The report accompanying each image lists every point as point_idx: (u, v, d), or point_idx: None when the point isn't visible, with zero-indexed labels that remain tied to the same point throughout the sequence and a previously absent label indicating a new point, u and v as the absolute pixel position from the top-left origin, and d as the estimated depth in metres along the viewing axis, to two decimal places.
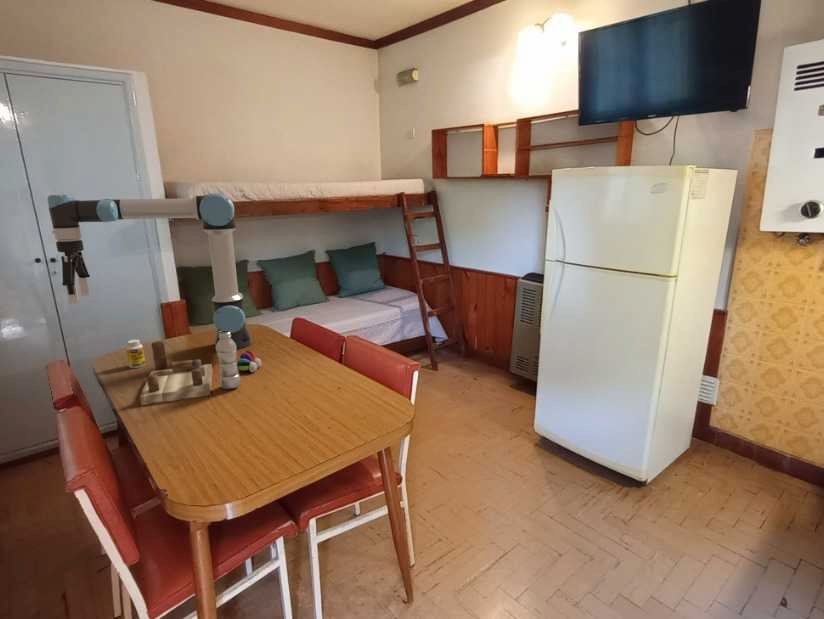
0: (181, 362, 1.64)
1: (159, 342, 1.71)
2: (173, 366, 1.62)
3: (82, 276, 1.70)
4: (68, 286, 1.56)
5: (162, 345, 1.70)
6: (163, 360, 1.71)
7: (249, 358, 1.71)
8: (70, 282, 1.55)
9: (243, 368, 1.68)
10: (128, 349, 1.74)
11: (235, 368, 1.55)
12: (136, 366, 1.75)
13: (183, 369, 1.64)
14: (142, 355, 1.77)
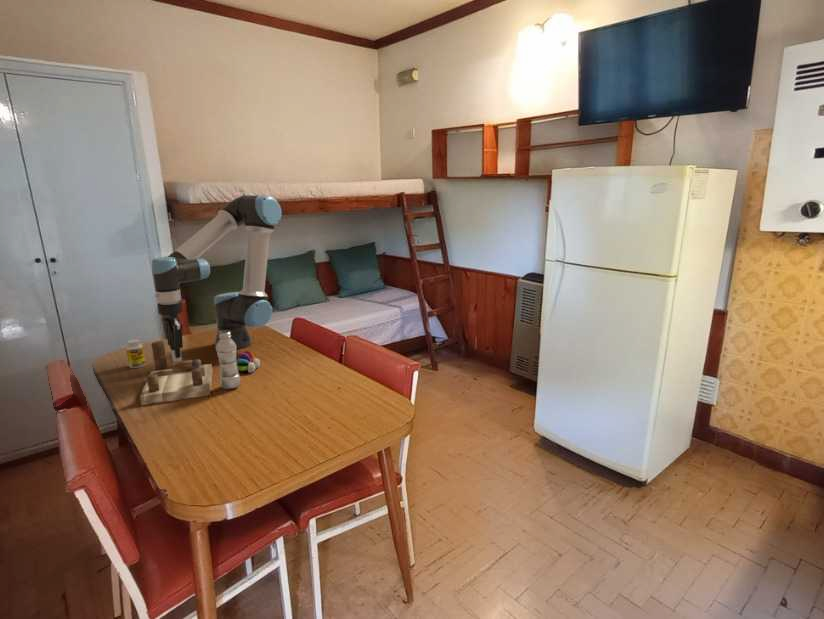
0: (181, 362, 1.64)
1: (159, 342, 1.71)
2: (173, 366, 1.62)
3: None
4: (176, 350, 1.63)
5: (162, 345, 1.70)
6: (163, 360, 1.71)
7: (248, 358, 1.71)
8: (181, 347, 1.62)
9: (241, 368, 1.68)
10: (128, 349, 1.74)
11: (235, 368, 1.55)
12: (136, 366, 1.75)
13: (183, 369, 1.64)
14: (142, 355, 1.77)
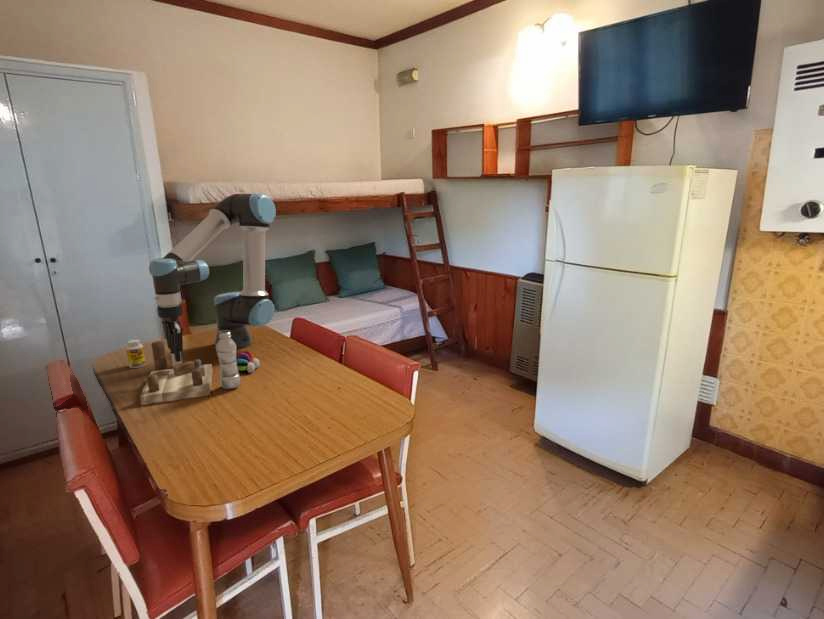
0: (183, 364, 1.62)
1: (159, 342, 1.71)
2: (178, 369, 1.59)
3: None
4: (176, 353, 1.60)
5: (162, 345, 1.70)
6: (163, 360, 1.71)
7: (247, 358, 1.71)
8: (181, 350, 1.59)
9: (241, 368, 1.68)
10: (128, 349, 1.74)
11: (235, 368, 1.55)
12: (136, 366, 1.75)
13: (187, 371, 1.62)
14: (142, 355, 1.77)
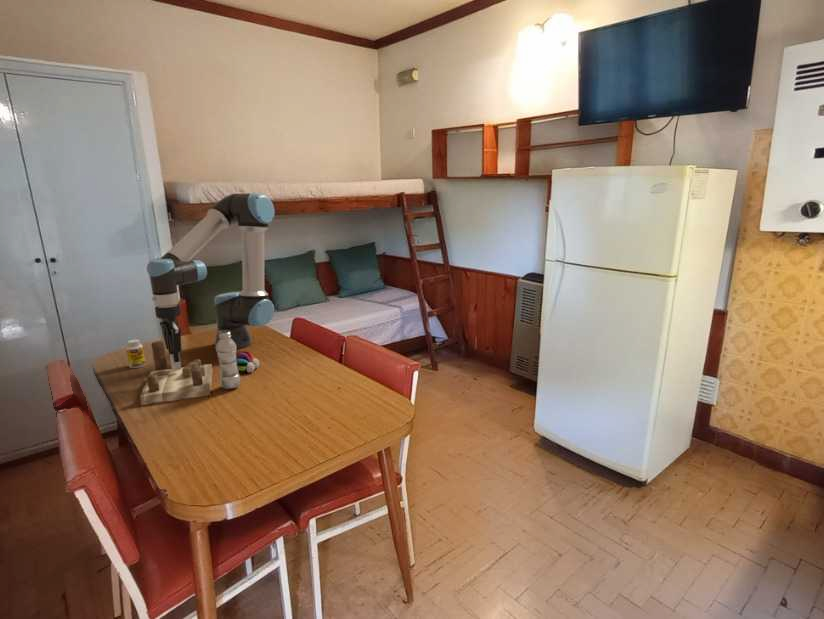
0: (190, 365, 1.61)
1: (159, 342, 1.71)
2: (189, 370, 1.59)
3: None
4: (175, 354, 1.59)
5: (162, 345, 1.70)
6: (163, 360, 1.71)
7: (247, 358, 1.71)
8: (180, 351, 1.58)
9: (240, 368, 1.68)
10: (128, 349, 1.74)
11: (235, 368, 1.55)
12: (136, 366, 1.75)
13: None
14: (142, 355, 1.77)
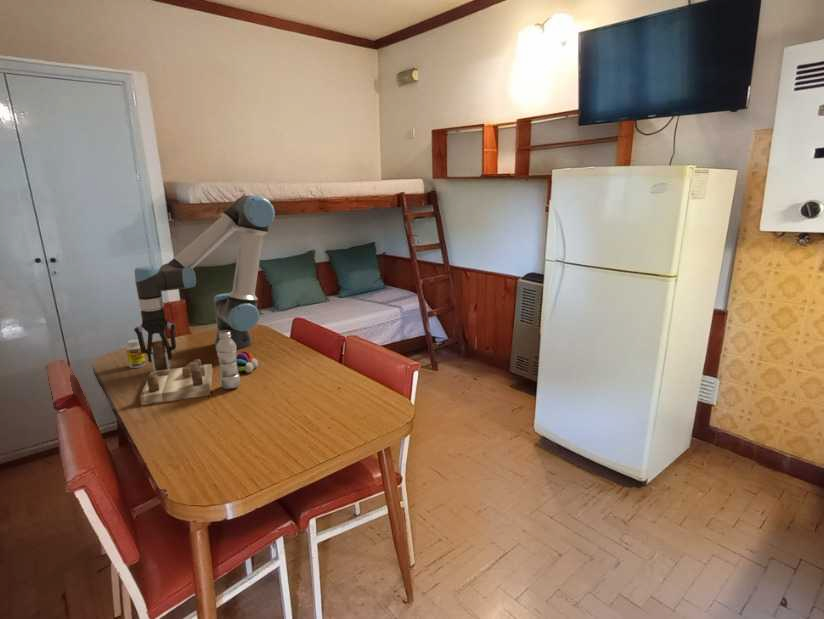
0: (190, 365, 1.61)
1: (159, 341, 1.71)
2: (189, 370, 1.59)
3: None
4: None
5: (162, 344, 1.70)
6: (163, 359, 1.71)
7: (245, 359, 1.70)
8: None
9: (239, 369, 1.68)
10: (128, 349, 1.74)
11: (235, 368, 1.55)
12: (136, 366, 1.75)
13: None
14: (142, 355, 1.77)
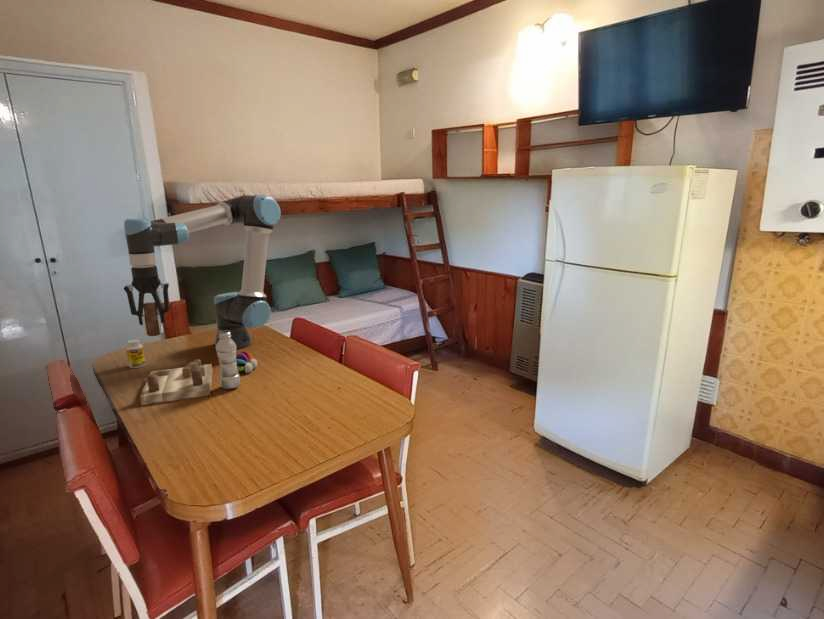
0: (190, 365, 1.61)
1: (151, 303, 1.57)
2: (189, 370, 1.59)
3: None
4: None
5: (155, 306, 1.56)
6: (156, 322, 1.57)
7: (245, 359, 1.70)
8: (131, 313, 1.54)
9: (238, 369, 1.68)
10: (128, 349, 1.74)
11: (235, 368, 1.55)
12: (136, 366, 1.75)
13: None
14: (142, 355, 1.77)
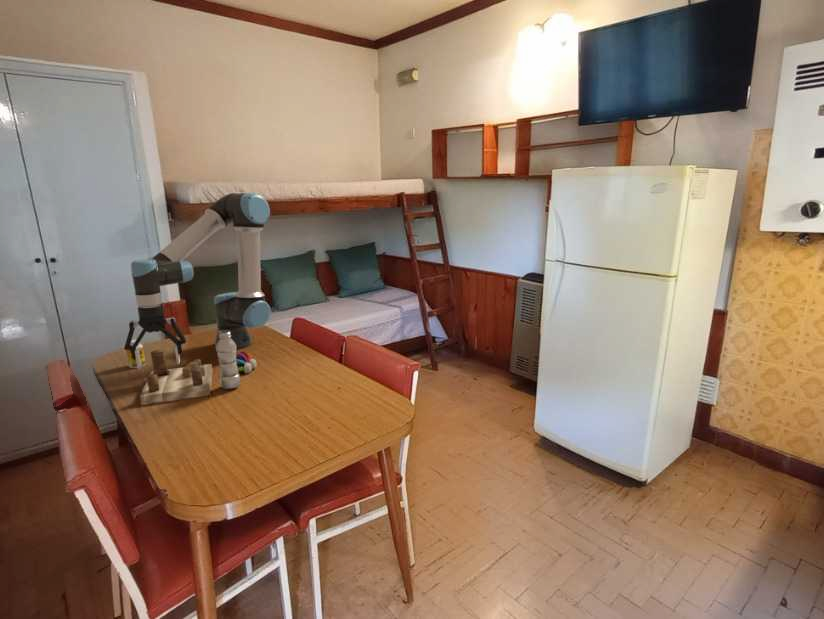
0: (190, 365, 1.61)
1: (159, 351, 1.61)
2: (189, 370, 1.59)
3: None
4: None
5: (162, 354, 1.60)
6: (163, 370, 1.61)
7: (244, 359, 1.70)
8: None
9: (238, 369, 1.68)
10: None
11: (235, 368, 1.55)
12: (136, 366, 1.75)
13: None
14: (142, 355, 1.77)
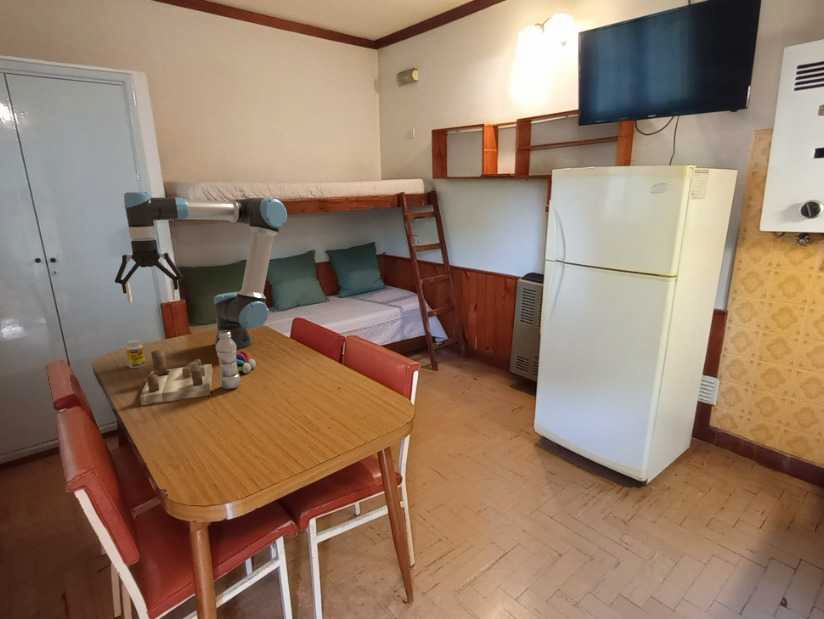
0: (190, 365, 1.61)
1: (159, 351, 1.61)
2: (189, 370, 1.59)
3: None
4: None
5: (163, 354, 1.60)
6: (164, 370, 1.61)
7: (243, 359, 1.70)
8: (115, 281, 1.53)
9: None
10: (128, 349, 1.74)
11: (235, 368, 1.55)
12: (136, 366, 1.75)
13: None
14: (142, 355, 1.77)
